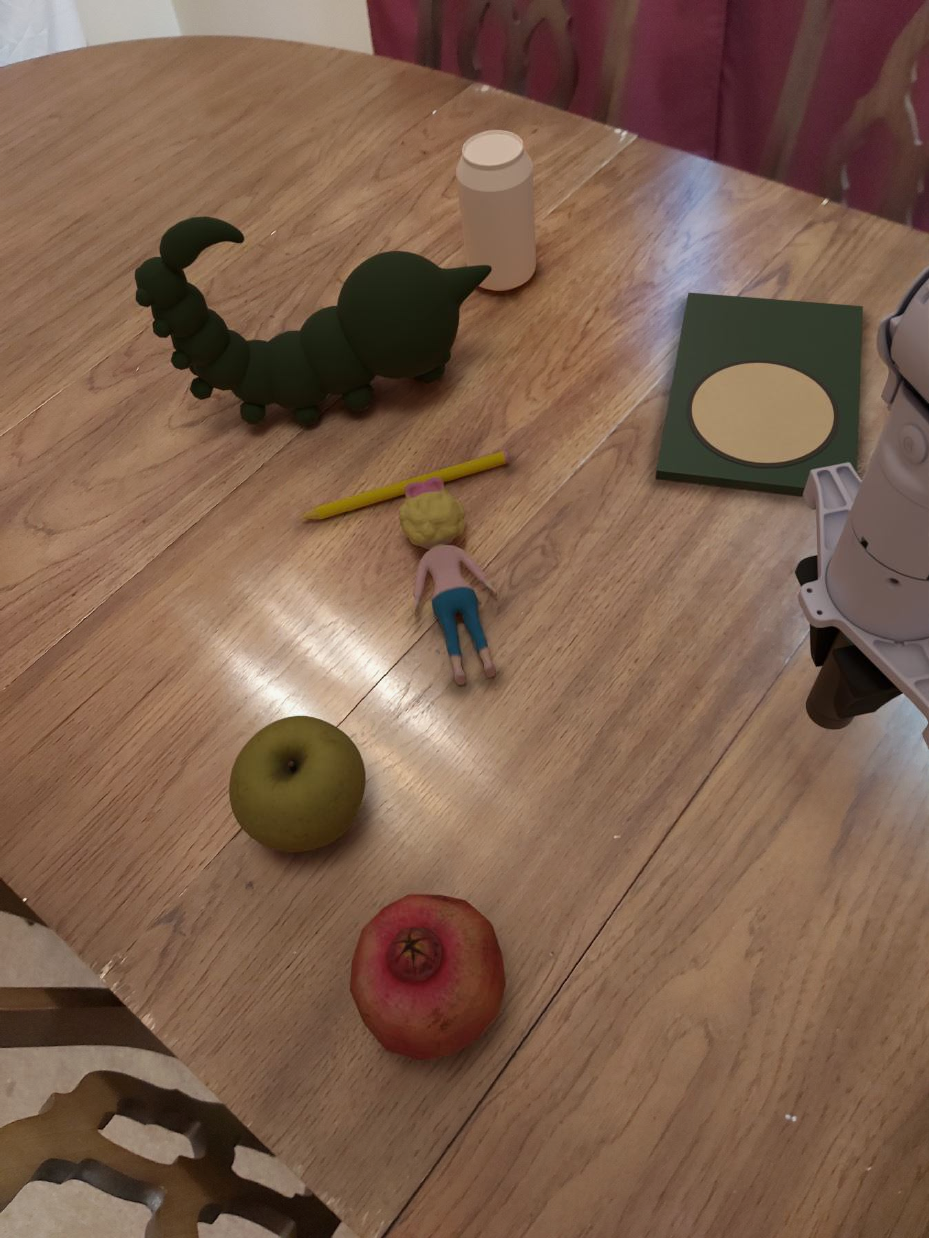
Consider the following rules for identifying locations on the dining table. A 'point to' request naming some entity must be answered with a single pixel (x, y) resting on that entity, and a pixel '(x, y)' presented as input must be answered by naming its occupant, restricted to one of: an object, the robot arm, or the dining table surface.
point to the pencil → (399, 487)
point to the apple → (297, 784)
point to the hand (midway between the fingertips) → (842, 683)
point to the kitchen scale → (762, 393)
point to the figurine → (445, 566)
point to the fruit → (427, 976)
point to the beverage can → (498, 208)
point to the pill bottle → (827, 690)
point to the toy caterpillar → (308, 328)
